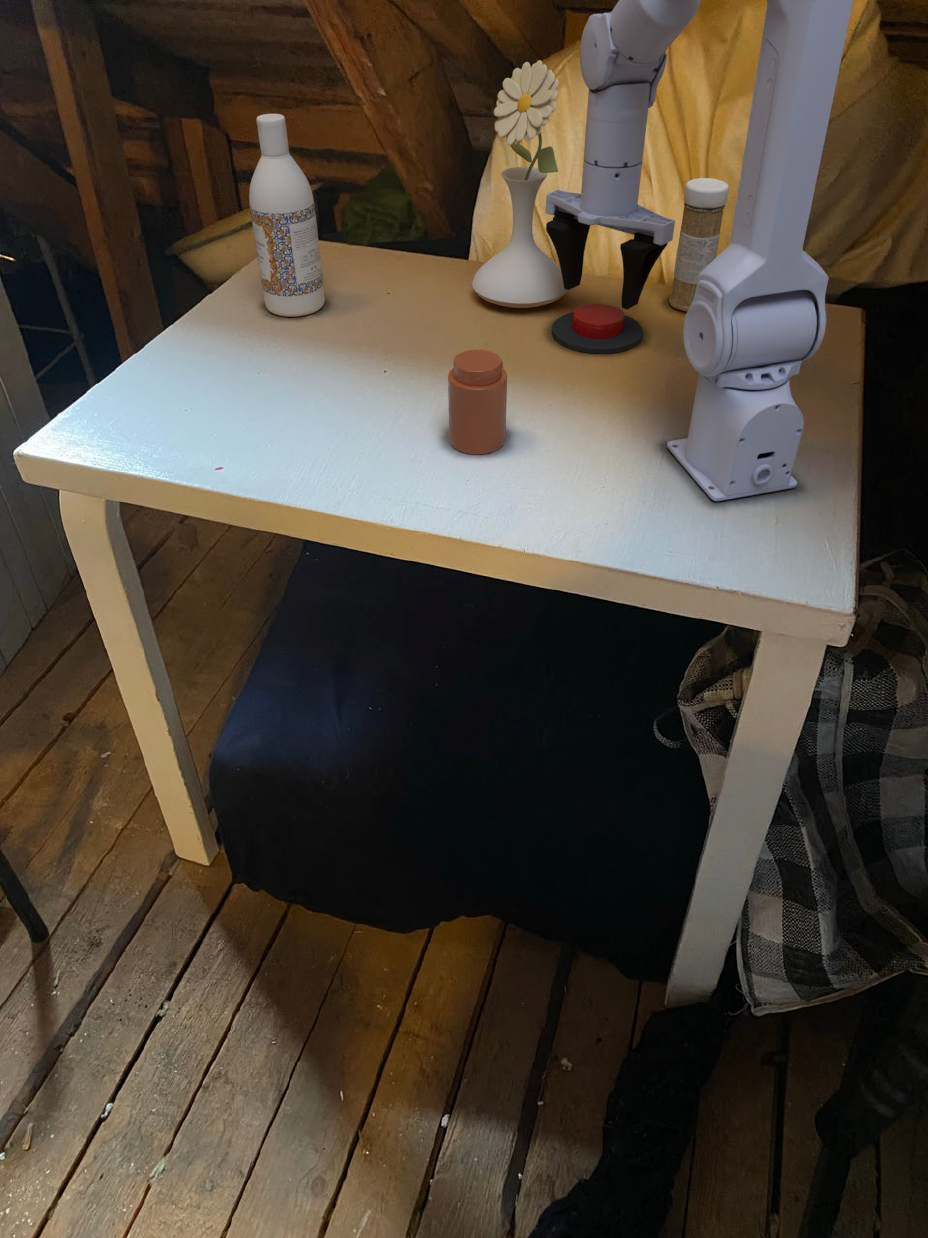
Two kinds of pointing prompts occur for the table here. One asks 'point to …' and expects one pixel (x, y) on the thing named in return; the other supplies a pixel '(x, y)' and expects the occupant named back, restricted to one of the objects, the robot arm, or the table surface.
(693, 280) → the sprinkles bottle
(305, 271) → the bath foam
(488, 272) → the flower in vase
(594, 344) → the coaster
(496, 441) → the jar
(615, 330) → the lid
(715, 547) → the table surface
